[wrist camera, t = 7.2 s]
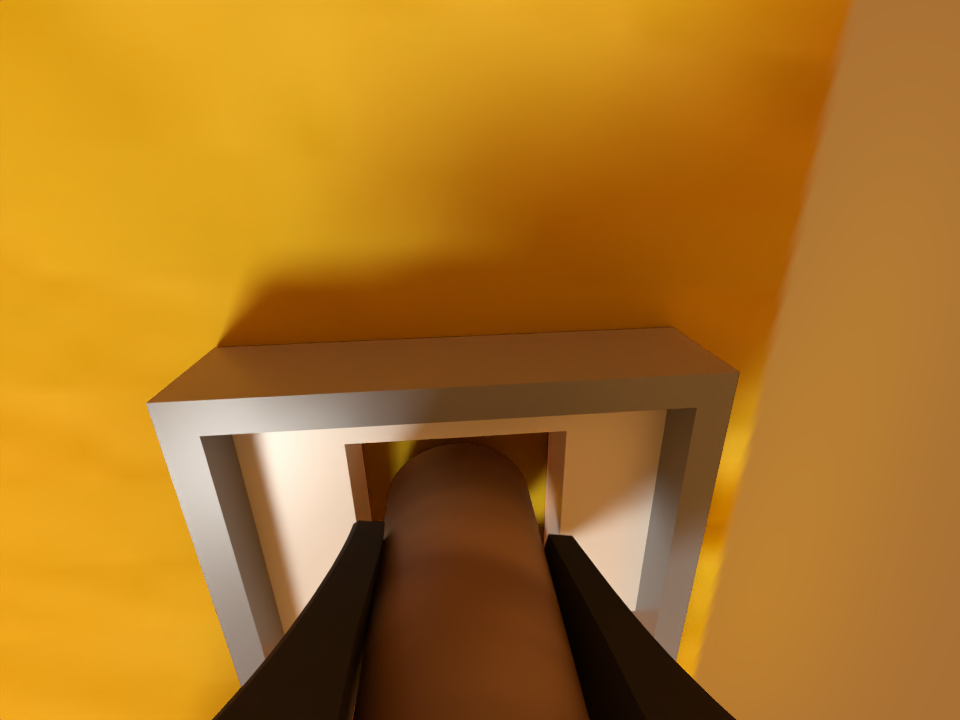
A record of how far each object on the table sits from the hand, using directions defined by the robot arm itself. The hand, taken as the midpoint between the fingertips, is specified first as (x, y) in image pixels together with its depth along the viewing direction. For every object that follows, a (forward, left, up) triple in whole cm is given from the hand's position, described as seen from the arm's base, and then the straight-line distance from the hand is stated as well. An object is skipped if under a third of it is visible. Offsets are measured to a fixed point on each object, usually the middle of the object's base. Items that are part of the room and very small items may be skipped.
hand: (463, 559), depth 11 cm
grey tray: (-1, -4, -3) cm, 5 cm away
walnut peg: (0, 0, -2) cm, 2 cm away
